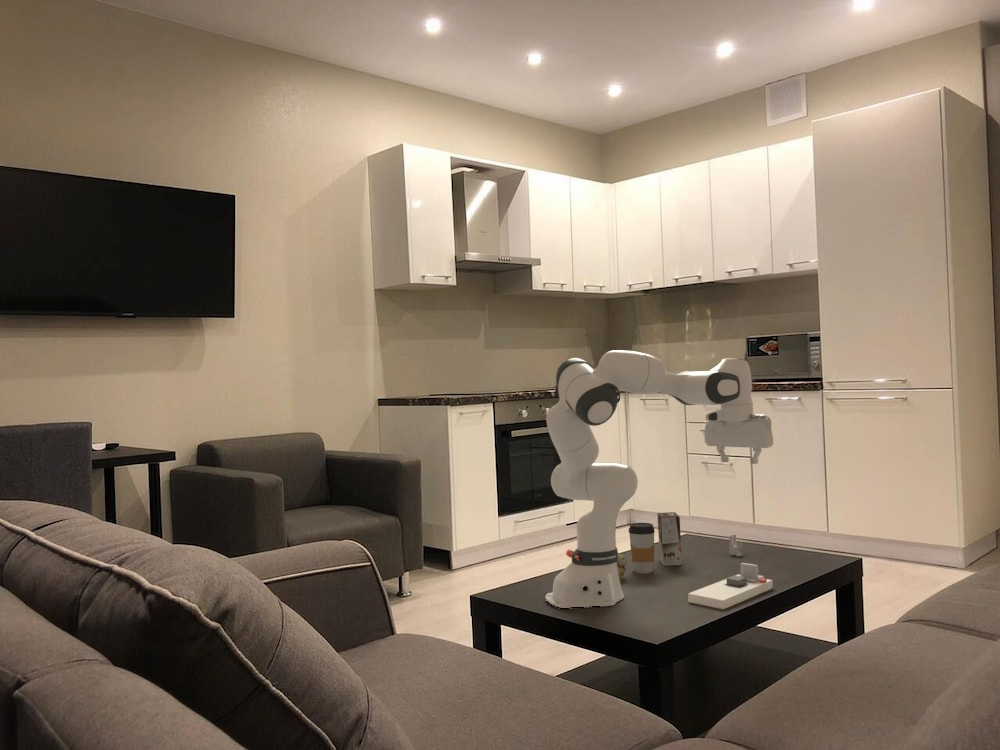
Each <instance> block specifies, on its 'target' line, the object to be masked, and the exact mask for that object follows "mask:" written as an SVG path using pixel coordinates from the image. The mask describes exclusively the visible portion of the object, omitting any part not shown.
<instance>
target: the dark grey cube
mask: <svg viewBox="0 0 1000 750" xmlns="http://www.w3.org/2000/svg"><path fill="white" fill-rule="evenodd" d="M725 579H726V581H727V586H732V587H738V588H741V587H744V586H746V585H747V580H746V578H745V577H740V576H735V575H732V576H731V575H730V576H729V577H726V578H725Z"/></svg>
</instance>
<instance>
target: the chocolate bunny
mask: <svg viewBox="0 0 1000 750" xmlns="http://www.w3.org/2000/svg"><path fill="white" fill-rule="evenodd" d="M627 562H628V561H627V558H626V557H625V556H624V555H622V554H620V553H619V552H618V575H619V580H620V581H621V580H624V579H625V578H626V577H625V573H626V572H625V571H626V570H627V568H626V565H627Z"/></svg>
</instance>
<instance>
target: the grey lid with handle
mask: <svg viewBox="0 0 1000 750" xmlns="http://www.w3.org/2000/svg"><path fill="white" fill-rule="evenodd" d="M739 564H740V565H739V566H740V574H739V576H740V577H745V578H746V580H747V581H748V582H756V581H758V580H760V579H762V578H764V579H765V575H761V574H759V565H758V564H753V563H746V562H741V563H739Z"/></svg>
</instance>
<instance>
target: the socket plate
mask: <svg viewBox="0 0 1000 750" xmlns="http://www.w3.org/2000/svg"><path fill="white" fill-rule="evenodd" d="M739 575H740V574H739V573H738V574H736V575H734V576H739ZM773 585H774V584H773V580H772V579H769V578H768V579H767V578H765V577H764V578H762V579H760V580H758V581H756V582H748V581H747V585H746V586H744V587H741V588H738V587H732V586H727V581H726V578H724V579H723V580H719V581H717V582H715V583H712V584H709V585H707V586H704V587H701V588H698V589H696V590H692V591H691V592H689V593H688V594H687V595H688V596H687V598H688V603H690V604H691V603H692V604H697V605H699V606H700V605H701V606H706V607H710V608H714V609H715V608H716V609H719V610H725V609H728V608H730V607H732V606H734V605H737V604H739V603H742V602H744V601H746V600H749V599H751V598H753V597H755V596H757V595H760V594H763V593H765V592H768V591H770V590H772V589H773V587H774V586H773Z"/></svg>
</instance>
